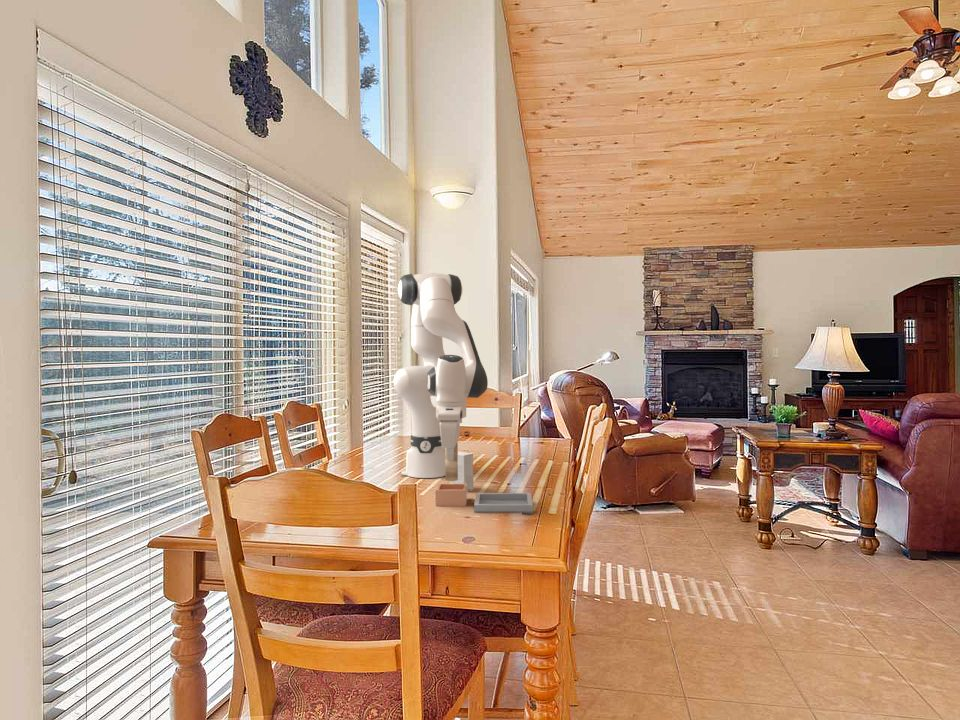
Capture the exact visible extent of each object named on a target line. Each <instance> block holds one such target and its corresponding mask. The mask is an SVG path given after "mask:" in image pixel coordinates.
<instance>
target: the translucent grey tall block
mask: <svg viewBox="0 0 960 720" xmlns="http://www.w3.org/2000/svg"><path fill="white" fill-rule="evenodd" d="M458 441H459V439H458V440H457V443H456V445H455V447H454V459H453V460H452V461H449V460H448V459H447V450H446V448H445V476H444V477H445V479H444V480H445V481H446V482H451V481H456V480H458V452H459V451H458V447H459V446H458V444H459V443H458Z"/></svg>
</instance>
